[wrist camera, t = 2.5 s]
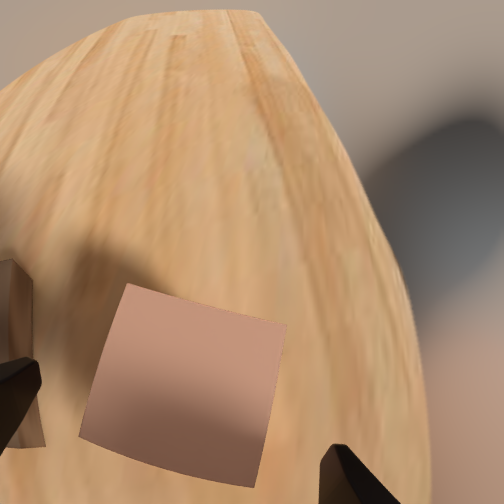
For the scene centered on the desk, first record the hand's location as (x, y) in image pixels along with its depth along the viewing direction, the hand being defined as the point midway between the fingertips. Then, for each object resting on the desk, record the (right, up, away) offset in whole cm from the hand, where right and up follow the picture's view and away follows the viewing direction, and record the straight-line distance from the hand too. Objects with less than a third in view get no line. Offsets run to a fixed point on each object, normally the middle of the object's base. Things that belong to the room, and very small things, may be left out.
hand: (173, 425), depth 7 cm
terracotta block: (-1, -3, +8) cm, 9 cm away
